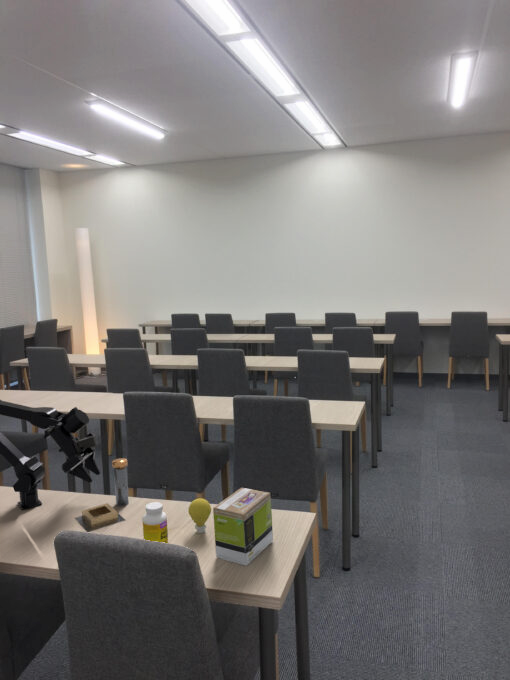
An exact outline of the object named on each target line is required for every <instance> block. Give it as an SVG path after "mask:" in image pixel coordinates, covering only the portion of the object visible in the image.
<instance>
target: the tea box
mask: <svg viewBox="0 0 510 680" xmlns="http://www.w3.org/2000/svg"><path fill="white" fill-rule="evenodd" d="M271 495H272V494H271V492H268V491H263V490H261V491H260V490H255V489H251V488H245V487H243V486H242V487H240V488H239V489H237V490H236V491H235V492H233V493H232V494H231V495H229V496H228V497H226V498H224V500H222V501H221V502H219V503H218V504H216V505H215V506H213V511H212V513H213V525H214V528H213V529H214V540H215V541H214V542H215V545H214V546H215V556H216V558H218V559H220V560H224V561H227V562H231V563H233V564H234V563H235V564H238V565H242V566H247V565H249V564H250V563H251V562H252V561H253V560H254V559H256V558H257V557H258V555H260V554H261V553H262V552H263V550H265V549H266V548H268V546H269V545H270V544H271V543H272V542H273V541H274V533H273V532H274V531H273V514H272V500H271V499H272V498H271V497H272V496H271Z"/></svg>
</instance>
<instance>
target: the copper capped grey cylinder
mask: <svg viewBox="0 0 510 680" xmlns="http://www.w3.org/2000/svg"><path fill="white" fill-rule="evenodd" d="M111 463H112V465H111V467H112V468H113V475H114V477H113V478H114V488H115V489H114V490H115V502H116V503H115V504H116V506H117V507H125V506H128V505H129V487H128V472H127V467H128V459H127V458H123V457H121V458H116V459H113V460H112V461H111Z"/></svg>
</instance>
